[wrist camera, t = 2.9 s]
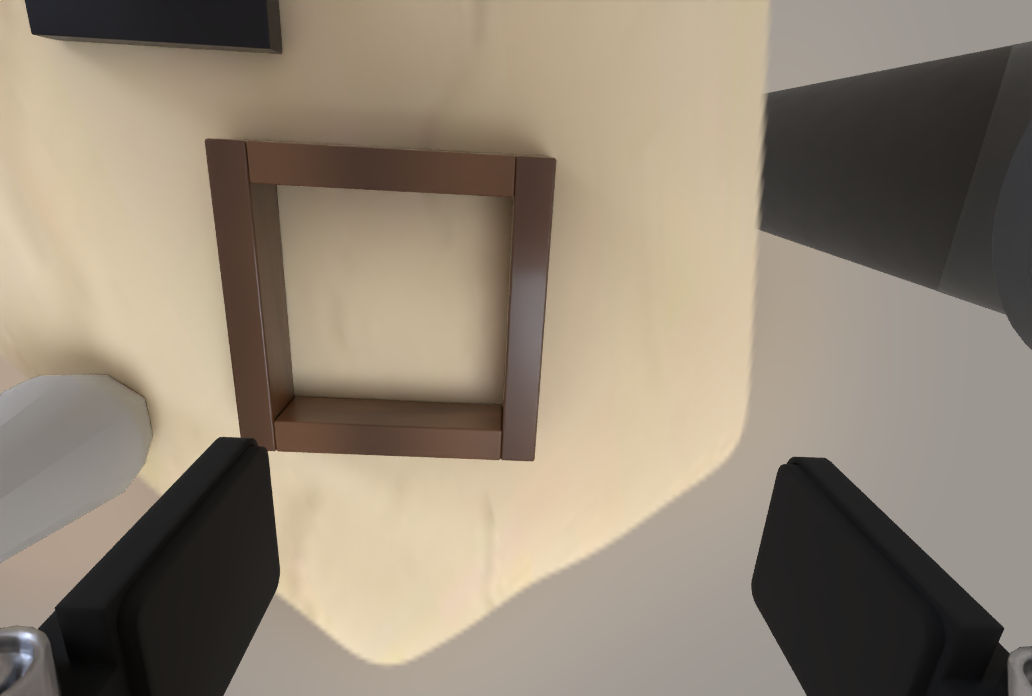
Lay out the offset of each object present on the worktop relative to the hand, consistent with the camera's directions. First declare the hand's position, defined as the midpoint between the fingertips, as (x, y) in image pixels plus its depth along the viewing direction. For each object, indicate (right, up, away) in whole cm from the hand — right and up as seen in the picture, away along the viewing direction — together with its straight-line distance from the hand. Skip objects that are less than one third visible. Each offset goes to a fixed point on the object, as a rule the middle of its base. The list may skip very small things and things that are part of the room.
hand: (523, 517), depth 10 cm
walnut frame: (-5, +5, +13) cm, 15 cm away
